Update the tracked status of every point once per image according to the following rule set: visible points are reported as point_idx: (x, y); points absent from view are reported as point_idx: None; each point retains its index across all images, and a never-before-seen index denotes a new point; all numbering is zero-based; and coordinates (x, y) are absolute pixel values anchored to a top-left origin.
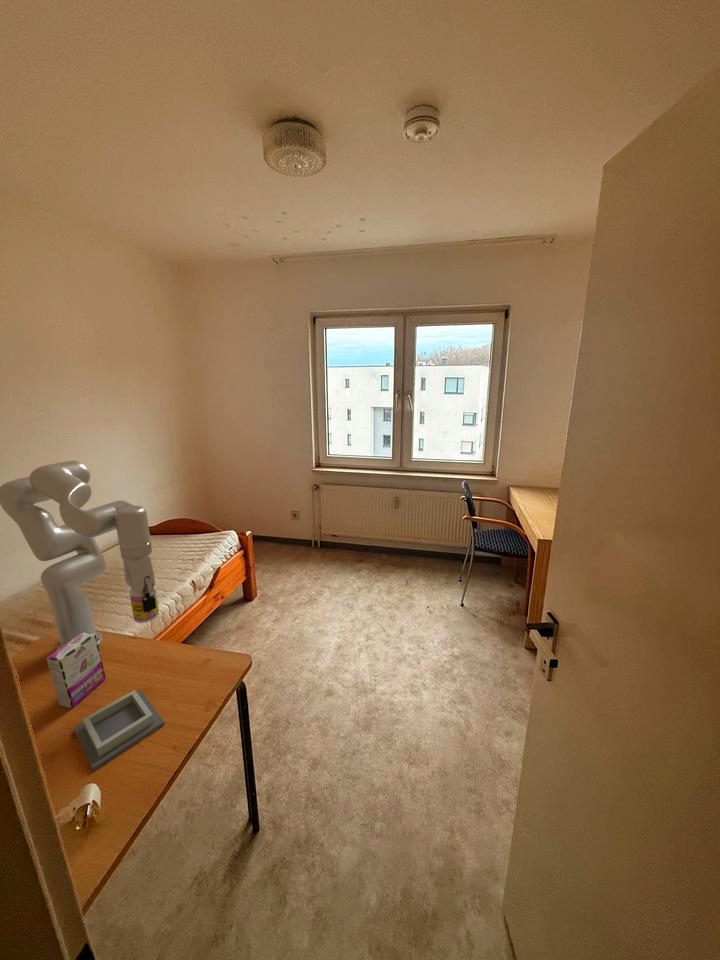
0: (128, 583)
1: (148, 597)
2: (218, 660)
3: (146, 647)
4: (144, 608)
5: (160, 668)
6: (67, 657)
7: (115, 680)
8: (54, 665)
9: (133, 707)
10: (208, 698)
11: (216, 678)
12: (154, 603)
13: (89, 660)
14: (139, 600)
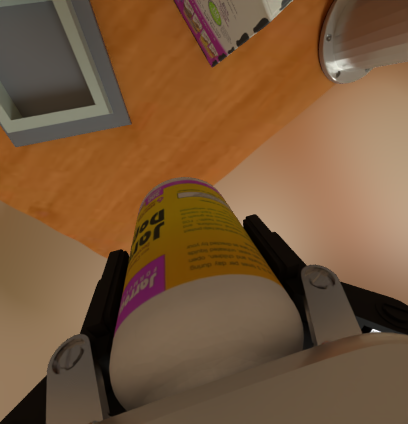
0: (327, 421)
1: (6, 419)
2: None
3: (249, 152)
4: (104, 271)
5: (178, 163)
6: None
7: (195, 84)
8: None
9: (82, 102)
10: (61, 214)
11: (104, 230)
12: None
13: (215, 6)
14: (122, 299)
